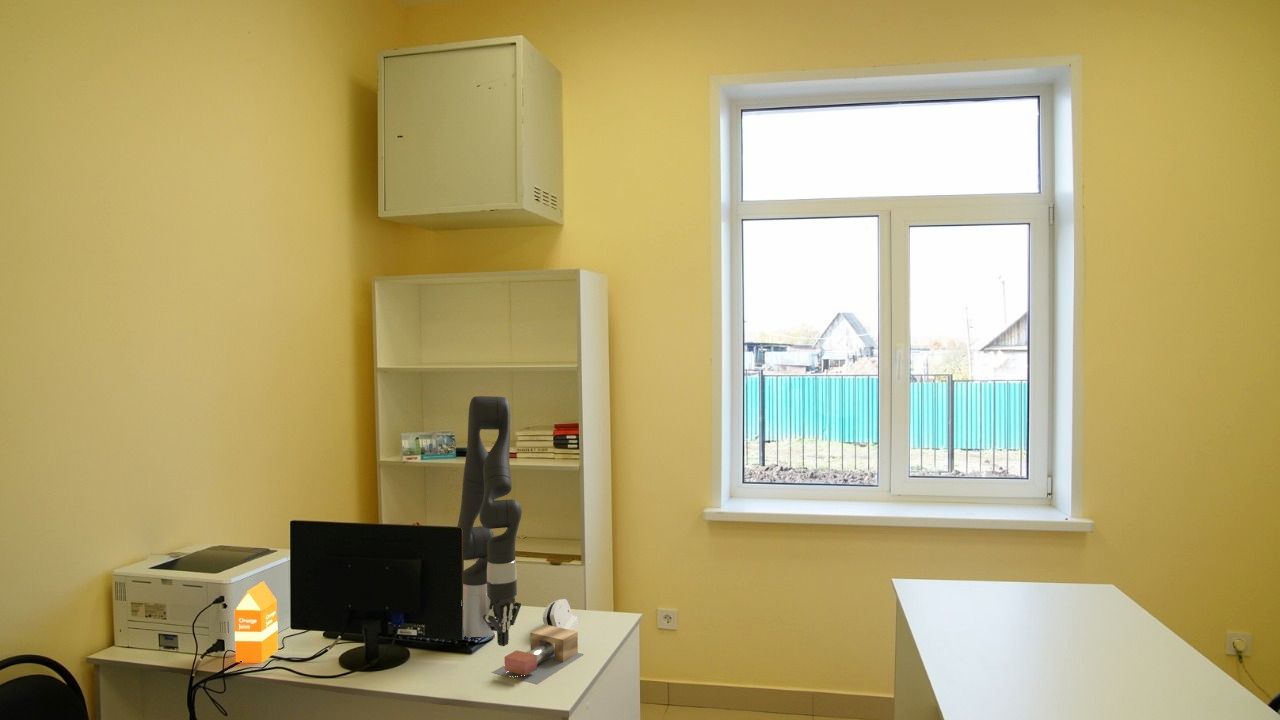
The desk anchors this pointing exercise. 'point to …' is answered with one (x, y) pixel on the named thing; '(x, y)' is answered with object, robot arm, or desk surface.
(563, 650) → the wooden block
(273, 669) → the desk surface
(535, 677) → the mat
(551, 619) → the white rounded piece
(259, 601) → the orange juice
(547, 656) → the pin
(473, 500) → the robot arm
